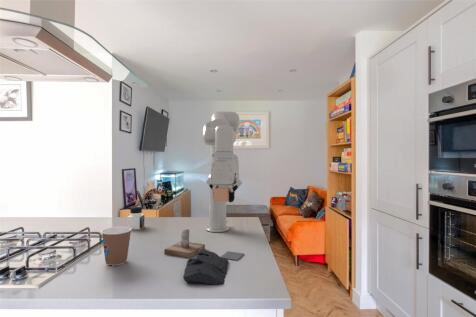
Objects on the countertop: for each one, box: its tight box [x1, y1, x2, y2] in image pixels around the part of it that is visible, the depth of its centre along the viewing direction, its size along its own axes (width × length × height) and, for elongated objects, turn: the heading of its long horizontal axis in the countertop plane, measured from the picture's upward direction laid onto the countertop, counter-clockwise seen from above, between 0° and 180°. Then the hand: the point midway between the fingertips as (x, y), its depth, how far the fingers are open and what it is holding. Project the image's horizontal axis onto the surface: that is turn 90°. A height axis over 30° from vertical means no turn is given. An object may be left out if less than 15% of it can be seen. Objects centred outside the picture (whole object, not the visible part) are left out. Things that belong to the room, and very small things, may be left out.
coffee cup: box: [100, 226, 133, 267], centre depth 100 cm, size 10×10×12 cm
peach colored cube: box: [213, 187, 230, 203], centre depth 108 cm, size 6×6×5 cm
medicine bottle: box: [126, 205, 145, 231], centre depth 151 cm, size 7×7×12 cm
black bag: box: [182, 249, 229, 286], centre depth 92 cm, size 15×22×5 cm
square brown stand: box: [163, 228, 206, 259], centre depth 112 cm, size 12×12×9 cm
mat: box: [220, 250, 245, 262], centre depth 107 cm, size 8×7×1 cm
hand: (223, 200), depth 108 cm, fingers closed on peach colored cube, 6 cm apart
